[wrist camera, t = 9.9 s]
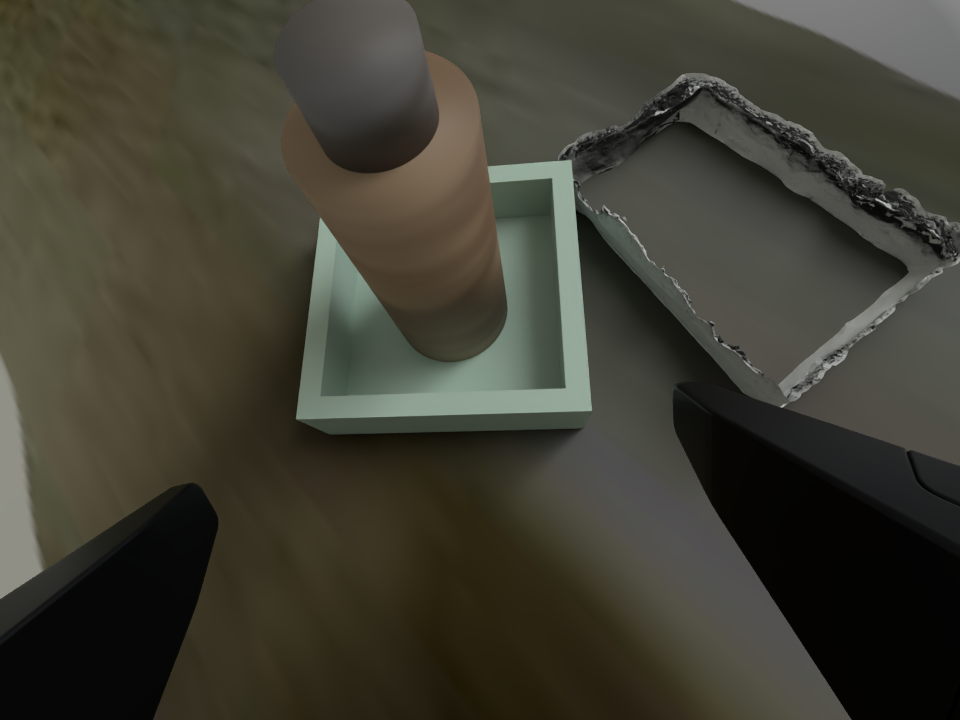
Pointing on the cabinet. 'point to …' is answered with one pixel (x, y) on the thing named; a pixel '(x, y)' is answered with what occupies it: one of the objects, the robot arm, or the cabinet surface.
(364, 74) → the pepper mill
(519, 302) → the tray
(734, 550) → the cabinet surface
